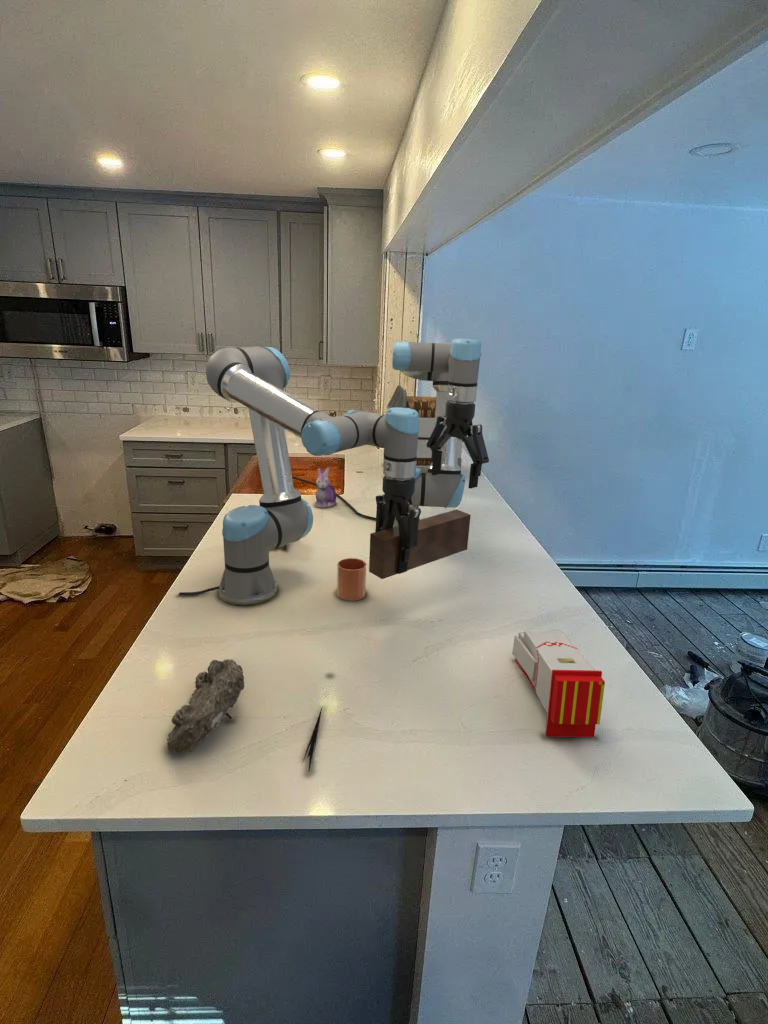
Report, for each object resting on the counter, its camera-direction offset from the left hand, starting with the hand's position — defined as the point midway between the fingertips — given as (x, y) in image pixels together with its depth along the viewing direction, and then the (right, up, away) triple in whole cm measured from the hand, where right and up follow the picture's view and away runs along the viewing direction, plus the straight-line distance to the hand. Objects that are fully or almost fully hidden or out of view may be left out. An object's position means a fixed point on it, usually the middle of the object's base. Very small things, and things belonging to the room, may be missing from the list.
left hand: (394, 567), depth 138 cm
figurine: (-26, +17, +87) cm, 92 cm away
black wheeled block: (-36, +3, +49) cm, 61 cm away
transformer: (+15, +32, +137) cm, 141 cm away
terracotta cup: (-12, -9, +18) cm, 24 cm away
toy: (+32, -24, -19) cm, 45 cm away
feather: (-15, -26, -30) cm, 42 cm away
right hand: (+16, +22, +15) cm, 31 cm away
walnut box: (+7, +1, +6) cm, 9 cm away
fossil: (-35, -25, -30) cm, 53 cm away
